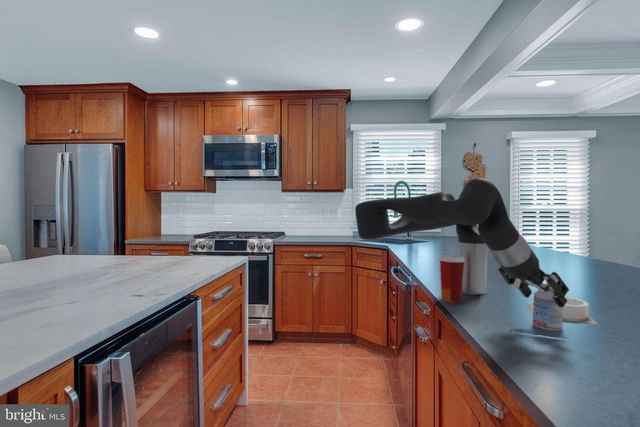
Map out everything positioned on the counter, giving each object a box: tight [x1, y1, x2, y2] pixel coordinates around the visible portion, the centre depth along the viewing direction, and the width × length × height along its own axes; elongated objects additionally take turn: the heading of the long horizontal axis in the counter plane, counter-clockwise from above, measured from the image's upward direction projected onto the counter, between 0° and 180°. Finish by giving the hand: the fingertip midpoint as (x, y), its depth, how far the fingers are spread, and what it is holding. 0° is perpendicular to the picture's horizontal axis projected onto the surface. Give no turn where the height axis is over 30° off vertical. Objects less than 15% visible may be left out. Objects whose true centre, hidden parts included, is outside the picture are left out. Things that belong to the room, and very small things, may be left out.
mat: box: [525, 302, 598, 325], centre depth 96 cm, size 14×14×1 cm
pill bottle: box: [532, 280, 564, 331], centre depth 85 cm, size 6×6×11 cm
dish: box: [563, 295, 590, 320], centre depth 96 cm, size 11×11×4 cm
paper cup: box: [438, 254, 465, 304], centre depth 109 cm, size 8×8×14 cm
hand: (545, 299), depth 84 cm, fingers open, 8 cm apart
